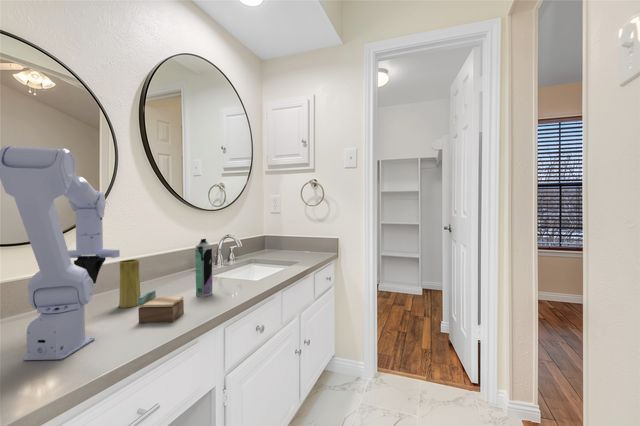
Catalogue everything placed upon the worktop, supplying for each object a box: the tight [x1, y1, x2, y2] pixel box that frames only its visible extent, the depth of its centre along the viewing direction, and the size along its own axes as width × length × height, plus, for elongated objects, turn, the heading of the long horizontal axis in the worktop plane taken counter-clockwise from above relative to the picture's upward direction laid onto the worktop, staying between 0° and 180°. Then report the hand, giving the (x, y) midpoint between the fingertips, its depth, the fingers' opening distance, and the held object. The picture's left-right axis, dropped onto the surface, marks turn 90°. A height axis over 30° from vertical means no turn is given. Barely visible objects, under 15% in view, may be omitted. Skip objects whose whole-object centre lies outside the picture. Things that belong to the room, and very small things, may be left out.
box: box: [138, 299, 185, 324], centre depth 82 cm, size 7×9×4 cm
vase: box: [118, 258, 142, 309], centre depth 94 cm, size 6×6×14 cm
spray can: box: [194, 238, 213, 298], centre depth 104 cm, size 6×6×20 cm
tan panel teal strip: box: [137, 289, 184, 308], centre depth 82 cm, size 7×9×3 cm
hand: (90, 284), depth 80 cm, fingers closed
